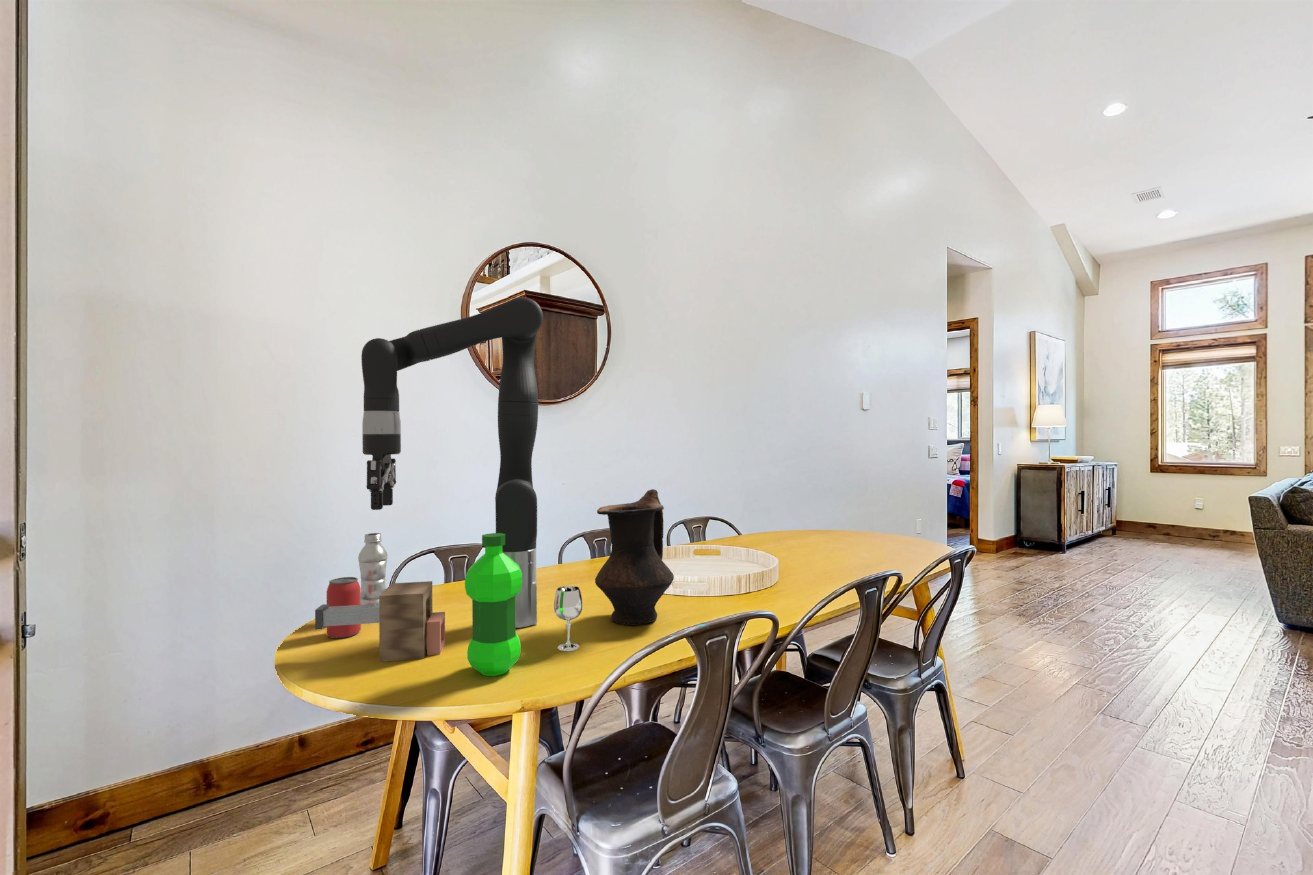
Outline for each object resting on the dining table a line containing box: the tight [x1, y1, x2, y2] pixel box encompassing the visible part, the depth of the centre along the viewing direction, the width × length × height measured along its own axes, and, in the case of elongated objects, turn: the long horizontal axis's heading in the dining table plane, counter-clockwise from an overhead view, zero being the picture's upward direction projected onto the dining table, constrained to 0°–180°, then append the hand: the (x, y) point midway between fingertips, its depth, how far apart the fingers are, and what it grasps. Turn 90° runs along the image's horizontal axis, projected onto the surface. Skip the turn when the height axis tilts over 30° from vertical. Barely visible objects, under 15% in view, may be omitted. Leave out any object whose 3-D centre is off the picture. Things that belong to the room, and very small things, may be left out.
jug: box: [594, 488, 675, 626], centre depth 139 cm, size 21×18×30 cm
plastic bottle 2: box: [464, 532, 522, 677], centre depth 108 cm, size 10×10×25 cm
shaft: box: [314, 603, 379, 630], centre depth 117 cm, size 18×4×4 cm, turn 101°
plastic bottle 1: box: [357, 532, 389, 605], centre depth 141 cm, size 6×7×20 cm
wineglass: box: [553, 585, 583, 652], centre depth 120 cm, size 6×6×12 cm
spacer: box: [426, 611, 446, 656], centre depth 119 cm, size 2×7×7 cm, turn 12°
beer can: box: [326, 576, 362, 639], centre depth 129 cm, size 7×7×12 cm
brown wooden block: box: [378, 580, 433, 663], centre depth 118 cm, size 8×10×13 cm
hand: (382, 507), depth 127 cm, fingers open, 8 cm apart
